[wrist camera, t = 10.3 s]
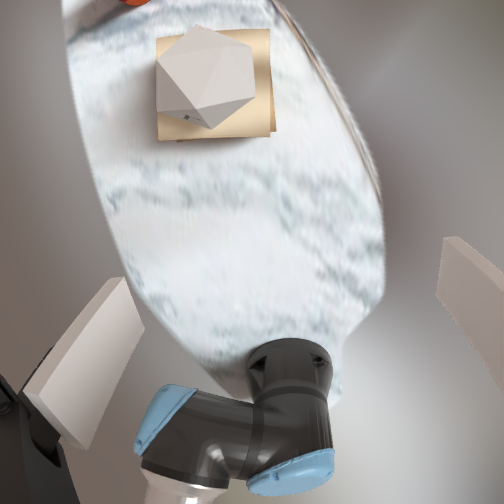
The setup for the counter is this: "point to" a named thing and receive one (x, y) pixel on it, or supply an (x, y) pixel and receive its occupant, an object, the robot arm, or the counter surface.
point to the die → (204, 77)
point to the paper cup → (134, 2)
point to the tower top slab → (244, 119)
